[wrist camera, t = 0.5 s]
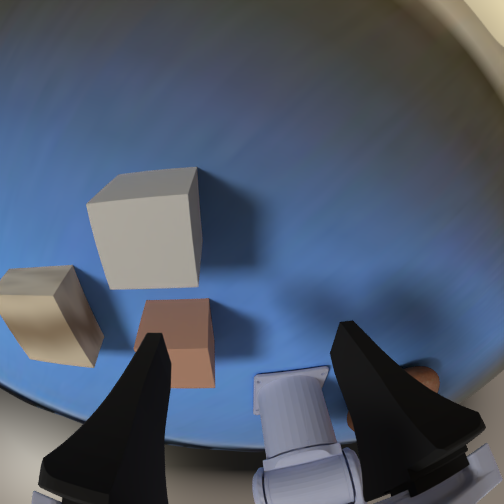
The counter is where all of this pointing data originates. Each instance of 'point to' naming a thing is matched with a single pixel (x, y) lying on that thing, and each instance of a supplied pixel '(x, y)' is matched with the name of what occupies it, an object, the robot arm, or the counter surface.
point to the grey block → (149, 229)
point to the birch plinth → (50, 315)
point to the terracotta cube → (183, 339)
